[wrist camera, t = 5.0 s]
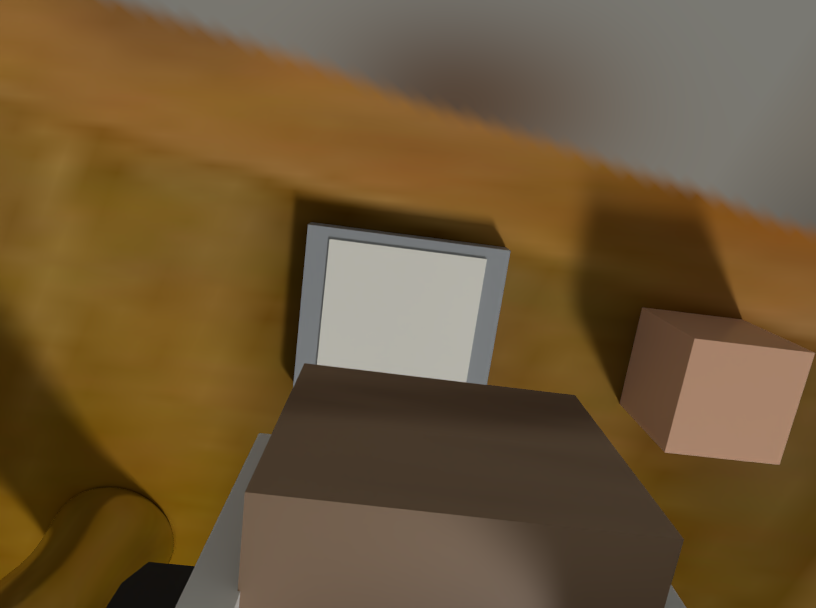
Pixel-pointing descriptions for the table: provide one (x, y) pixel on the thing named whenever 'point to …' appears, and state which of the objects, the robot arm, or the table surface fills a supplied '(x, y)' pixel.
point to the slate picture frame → (399, 303)
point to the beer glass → (90, 551)
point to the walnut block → (446, 502)
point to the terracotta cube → (714, 385)
